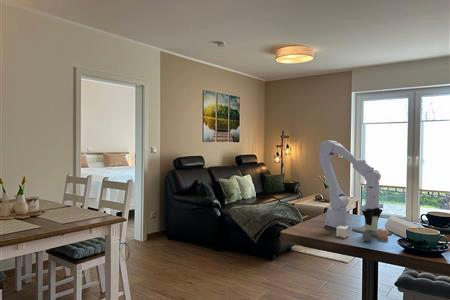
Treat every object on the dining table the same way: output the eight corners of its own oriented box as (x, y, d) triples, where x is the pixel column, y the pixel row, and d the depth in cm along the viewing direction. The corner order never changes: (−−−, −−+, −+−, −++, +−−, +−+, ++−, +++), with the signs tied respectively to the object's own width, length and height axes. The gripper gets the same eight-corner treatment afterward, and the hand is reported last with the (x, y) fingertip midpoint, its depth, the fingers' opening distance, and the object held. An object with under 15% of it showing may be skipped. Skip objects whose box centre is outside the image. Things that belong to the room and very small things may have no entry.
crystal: (378, 220, 162) (409, 234, 138) (390, 213, 162) (423, 226, 138) (385, 233, 162) (417, 249, 138) (397, 226, 163) (431, 240, 139)
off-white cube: (336, 236, 147) (336, 227, 147) (339, 234, 150) (340, 225, 150) (344, 237, 145) (345, 228, 145) (348, 236, 148) (348, 227, 147)
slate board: (351, 230, 157) (352, 228, 157) (364, 227, 162) (365, 225, 162) (378, 237, 145) (378, 235, 145) (391, 234, 150) (391, 232, 150)
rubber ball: (360, 241, 140) (360, 232, 140) (365, 239, 142) (365, 231, 142) (367, 243, 137) (368, 234, 137) (373, 242, 138) (373, 233, 138)
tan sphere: (375, 238, 144) (376, 229, 144) (381, 237, 146) (381, 228, 146) (384, 240, 141) (384, 231, 141) (389, 239, 143) (390, 230, 143)
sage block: (364, 228, 155) (364, 215, 154) (369, 227, 157) (370, 215, 157) (372, 230, 151) (372, 217, 151) (377, 229, 153) (377, 216, 153)
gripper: (370, 198, 146) (369, 228, 146) (389, 195, 154) (388, 224, 154) (356, 195, 152) (356, 224, 152) (375, 193, 160) (375, 221, 160)
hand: (371, 224), depth 154 cm, fingers closed on sage block, 4 cm apart
